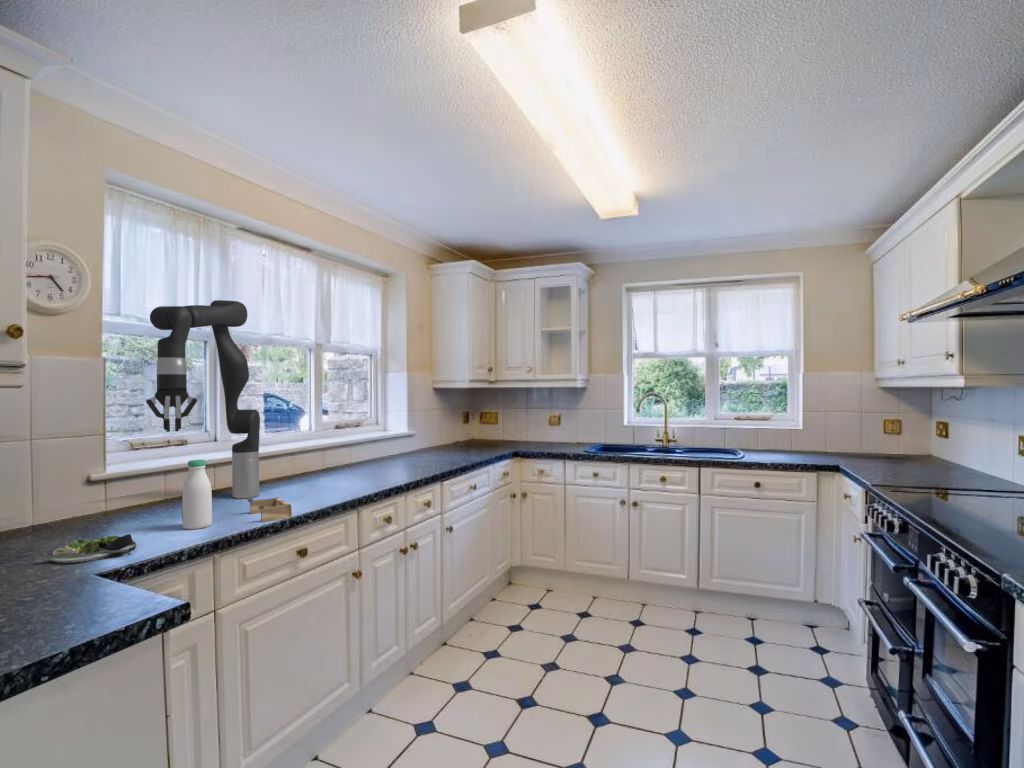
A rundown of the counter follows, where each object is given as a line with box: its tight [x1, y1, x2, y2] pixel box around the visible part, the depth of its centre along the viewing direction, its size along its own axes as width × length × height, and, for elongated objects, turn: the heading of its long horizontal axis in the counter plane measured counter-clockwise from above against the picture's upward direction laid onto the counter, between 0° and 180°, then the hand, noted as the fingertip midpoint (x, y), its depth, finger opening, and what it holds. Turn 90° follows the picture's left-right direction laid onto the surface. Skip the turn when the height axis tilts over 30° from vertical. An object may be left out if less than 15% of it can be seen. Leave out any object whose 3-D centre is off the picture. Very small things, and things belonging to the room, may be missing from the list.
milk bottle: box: [181, 459, 213, 530], centre depth 162 cm, size 8×8×20 cm
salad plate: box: [37, 533, 137, 564], centre depth 136 cm, size 19×18×5 cm
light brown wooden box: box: [247, 497, 292, 523], centre depth 174 cm, size 15×9×5 cm, turn 39°
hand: (172, 431), depth 159 cm, fingers closed
